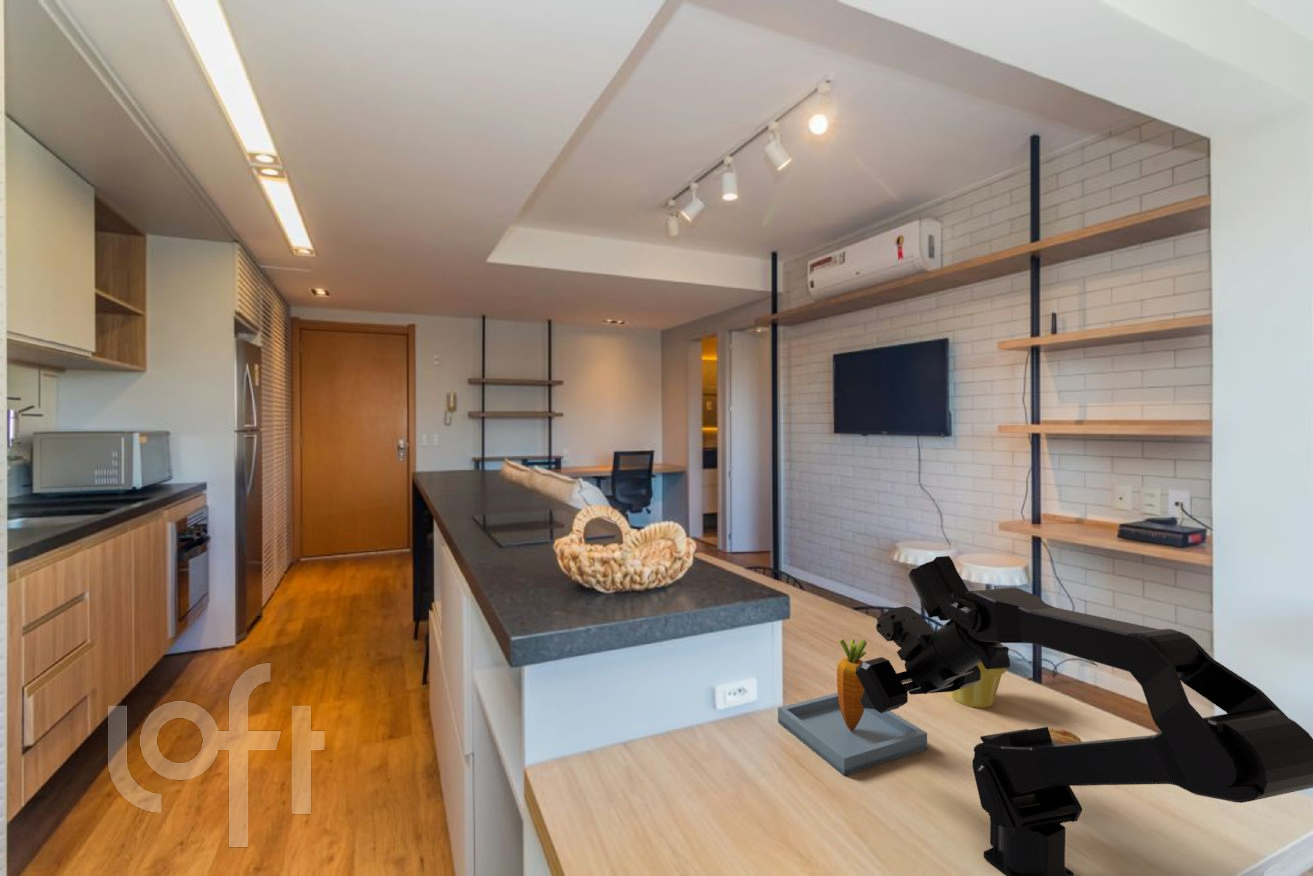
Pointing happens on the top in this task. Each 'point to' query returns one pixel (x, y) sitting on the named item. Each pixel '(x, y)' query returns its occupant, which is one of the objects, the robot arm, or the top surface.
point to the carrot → (850, 684)
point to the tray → (851, 734)
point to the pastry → (1063, 736)
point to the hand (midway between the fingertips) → (886, 697)
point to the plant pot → (980, 689)
